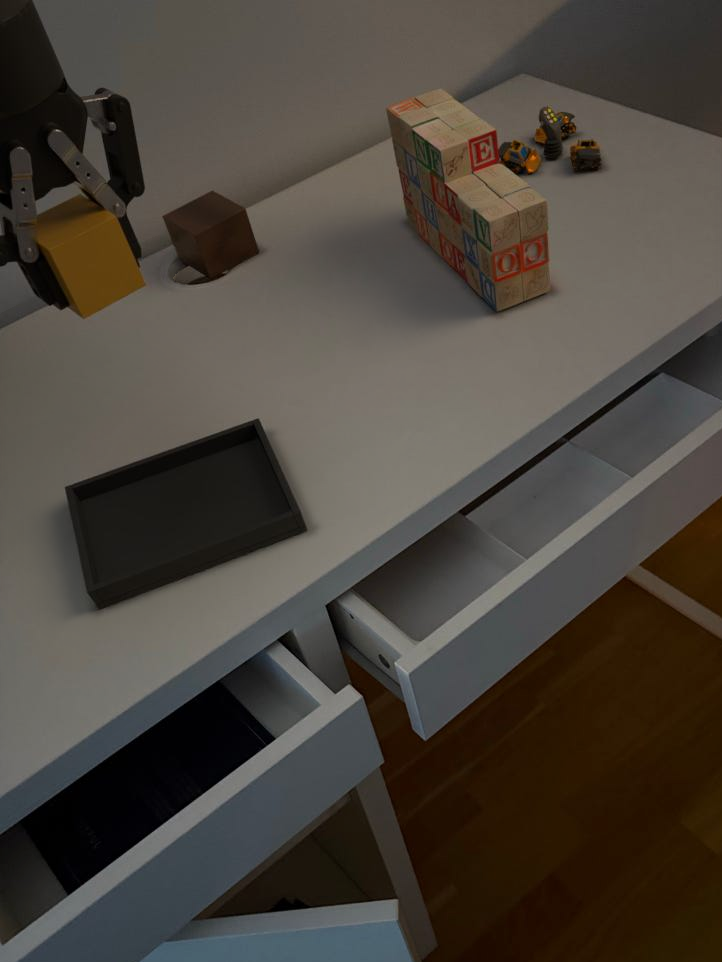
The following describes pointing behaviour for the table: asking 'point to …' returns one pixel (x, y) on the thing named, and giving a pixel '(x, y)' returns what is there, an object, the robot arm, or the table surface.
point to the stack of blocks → (470, 199)
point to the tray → (180, 512)
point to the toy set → (550, 145)
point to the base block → (211, 234)
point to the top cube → (87, 254)
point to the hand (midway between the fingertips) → (94, 284)
